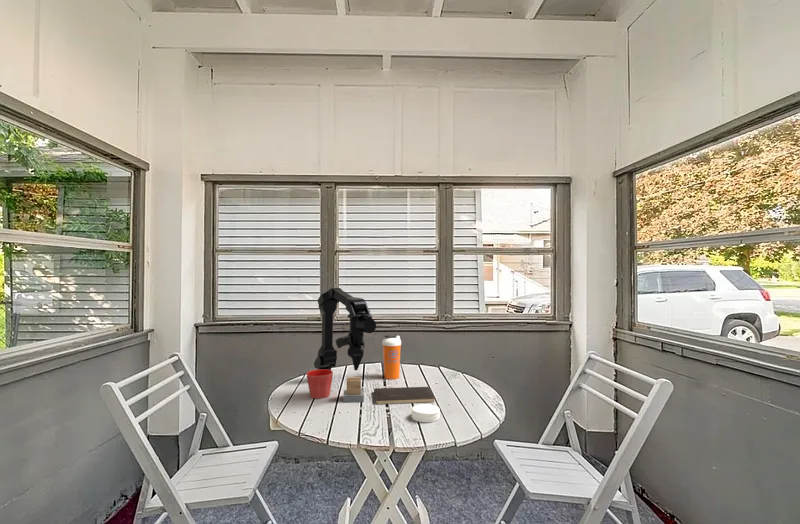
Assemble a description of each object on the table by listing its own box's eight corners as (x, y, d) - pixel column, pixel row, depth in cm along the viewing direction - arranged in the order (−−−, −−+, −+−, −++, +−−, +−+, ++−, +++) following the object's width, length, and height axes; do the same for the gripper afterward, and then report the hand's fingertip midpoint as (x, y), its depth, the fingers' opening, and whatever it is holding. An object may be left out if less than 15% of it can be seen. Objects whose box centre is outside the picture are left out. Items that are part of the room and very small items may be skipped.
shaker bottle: (379, 376, 214) (379, 334, 214) (396, 374, 218) (396, 332, 218) (386, 380, 206) (386, 337, 206) (404, 378, 210) (404, 335, 210)
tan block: (347, 390, 182) (347, 377, 182) (360, 390, 183) (360, 376, 183) (346, 394, 177) (346, 381, 177) (360, 394, 177) (360, 380, 177)
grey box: (344, 396, 184) (344, 390, 184) (363, 395, 184) (363, 389, 184) (343, 402, 176) (343, 396, 176) (363, 401, 176) (363, 395, 176)
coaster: (422, 411, 166) (422, 401, 166) (445, 417, 160) (445, 407, 160) (405, 418, 158) (405, 408, 158) (429, 425, 152) (428, 415, 152)
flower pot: (300, 397, 182) (300, 373, 182) (317, 390, 191) (317, 367, 191) (321, 401, 177) (321, 376, 177) (338, 394, 186) (338, 370, 186)
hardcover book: (435, 403, 175) (435, 397, 175) (376, 406, 173) (376, 400, 173) (428, 391, 191) (428, 386, 191) (374, 393, 189) (374, 388, 189)
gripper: (338, 325, 193) (338, 361, 193) (334, 333, 174) (334, 373, 175) (364, 325, 193) (364, 361, 194) (363, 333, 175) (363, 373, 175)
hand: (356, 367), depth 184 cm, fingers open, 9 cm apart
